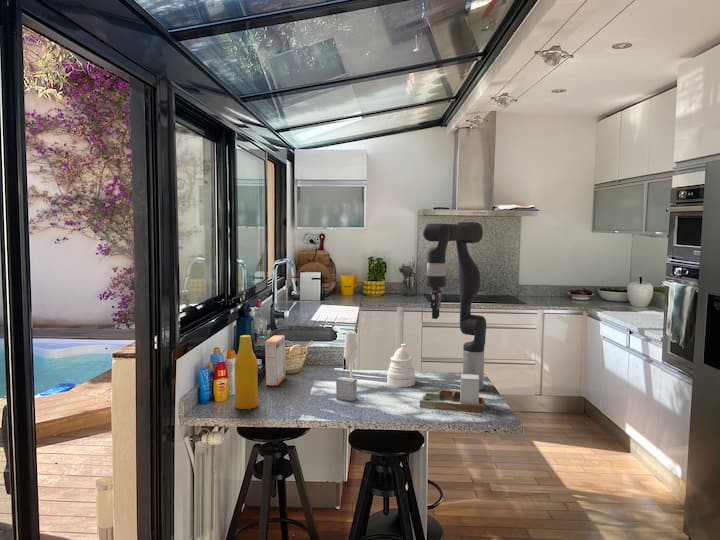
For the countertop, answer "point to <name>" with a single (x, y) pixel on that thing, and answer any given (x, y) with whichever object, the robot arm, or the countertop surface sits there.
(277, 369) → the cracker box
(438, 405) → the wooden tray
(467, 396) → the supplement box
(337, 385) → the medicine box
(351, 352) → the champagne flute
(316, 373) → the countertop surface
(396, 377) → the honey pot
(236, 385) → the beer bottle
